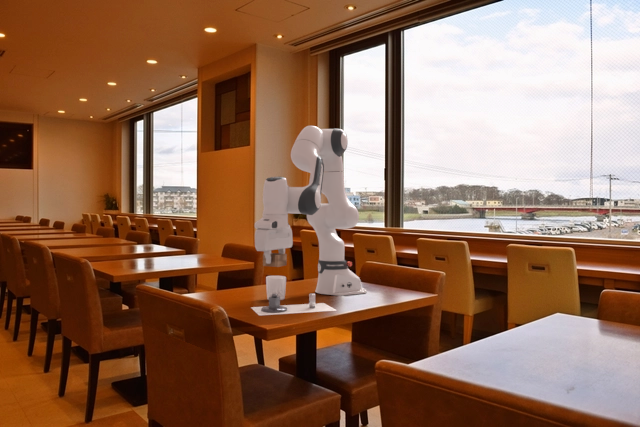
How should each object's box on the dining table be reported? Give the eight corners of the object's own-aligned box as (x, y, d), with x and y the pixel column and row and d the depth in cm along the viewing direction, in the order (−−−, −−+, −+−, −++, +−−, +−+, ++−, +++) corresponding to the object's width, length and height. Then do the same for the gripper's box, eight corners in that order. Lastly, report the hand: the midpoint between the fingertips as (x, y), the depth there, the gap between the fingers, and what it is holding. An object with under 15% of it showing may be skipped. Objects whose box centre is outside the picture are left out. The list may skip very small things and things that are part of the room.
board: (323, 306, 194) (323, 303, 194) (337, 314, 181) (337, 310, 181) (250, 311, 185) (250, 307, 184) (259, 319, 171) (259, 315, 171)
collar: (271, 264, 184) (272, 253, 184) (286, 265, 181) (286, 253, 181) (262, 265, 178) (263, 254, 178) (277, 266, 176) (278, 255, 176)
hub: (283, 306, 186) (283, 291, 186) (290, 311, 177) (290, 295, 177) (258, 308, 183) (259, 292, 183) (264, 313, 174) (264, 296, 174)
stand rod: (314, 306, 186) (314, 293, 186) (316, 308, 184) (316, 294, 184) (308, 307, 186) (308, 293, 185) (310, 308, 183) (310, 294, 183)
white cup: (290, 302, 202) (290, 277, 202) (275, 305, 196) (275, 279, 196) (276, 299, 208) (276, 274, 207) (261, 302, 202) (261, 276, 202)
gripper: (282, 221, 190) (281, 259, 191) (251, 223, 172) (251, 264, 172) (297, 222, 188) (296, 260, 188) (267, 223, 169) (267, 265, 169)
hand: (274, 262), depth 180 cm, fingers closed on collar, 6 cm apart
